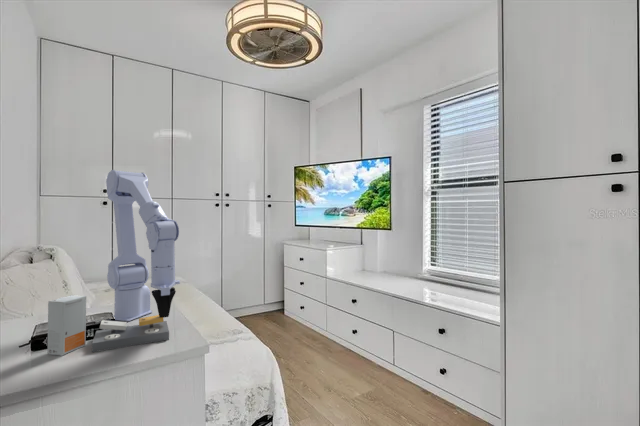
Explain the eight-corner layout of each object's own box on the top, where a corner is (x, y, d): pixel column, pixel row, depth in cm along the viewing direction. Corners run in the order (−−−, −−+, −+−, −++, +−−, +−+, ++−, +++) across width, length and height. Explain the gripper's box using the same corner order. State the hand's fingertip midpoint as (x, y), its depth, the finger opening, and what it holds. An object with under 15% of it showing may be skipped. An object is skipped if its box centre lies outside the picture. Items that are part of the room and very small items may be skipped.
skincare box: (62, 356, 73) (62, 302, 73) (46, 354, 74) (46, 301, 74) (87, 345, 79) (87, 295, 79) (72, 344, 80) (72, 294, 80)
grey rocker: (99, 328, 80) (100, 324, 80) (100, 324, 83) (101, 319, 83) (125, 330, 82) (126, 325, 83) (125, 326, 85) (127, 321, 86)
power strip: (91, 352, 75) (91, 341, 75) (96, 338, 83) (96, 328, 83) (169, 339, 83) (169, 329, 83) (166, 328, 91) (166, 318, 91)
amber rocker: (139, 326, 84) (138, 322, 84) (139, 322, 87) (138, 318, 87) (163, 321, 87) (163, 317, 87) (162, 317, 90) (162, 314, 90)
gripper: (182, 268, 84) (183, 321, 84) (176, 261, 96) (177, 307, 96) (151, 271, 80) (152, 327, 80) (149, 263, 93) (150, 311, 93)
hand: (164, 316), depth 88 cm, fingers closed, pressing on amber rocker
